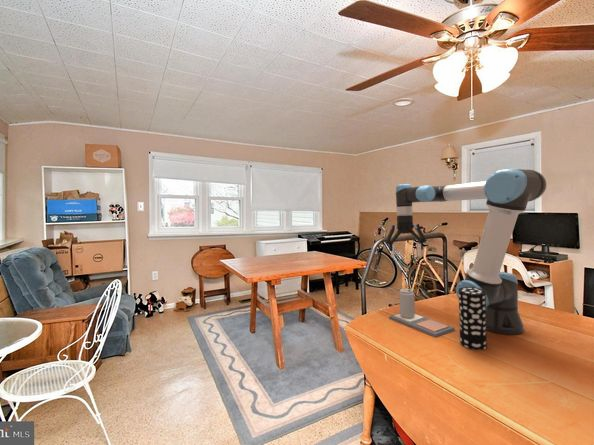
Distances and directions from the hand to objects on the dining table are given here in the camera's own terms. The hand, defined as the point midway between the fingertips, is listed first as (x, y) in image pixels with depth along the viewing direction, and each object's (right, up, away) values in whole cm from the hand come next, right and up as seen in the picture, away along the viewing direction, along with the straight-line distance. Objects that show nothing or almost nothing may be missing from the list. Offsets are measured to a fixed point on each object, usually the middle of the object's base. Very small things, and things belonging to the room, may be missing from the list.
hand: (406, 256), depth 145 cm
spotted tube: (+9, -27, -40) cm, 49 cm away
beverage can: (-5, -26, -15) cm, 30 cm away
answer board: (-2, -27, -20) cm, 34 cm away
